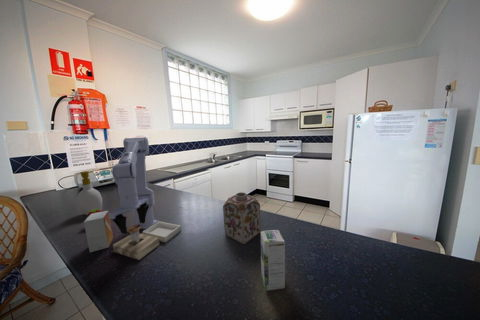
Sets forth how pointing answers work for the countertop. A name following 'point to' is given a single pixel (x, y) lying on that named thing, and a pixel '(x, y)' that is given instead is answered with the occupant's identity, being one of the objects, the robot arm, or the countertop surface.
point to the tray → (163, 231)
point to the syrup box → (272, 259)
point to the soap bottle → (88, 195)
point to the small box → (98, 231)
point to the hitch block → (136, 246)
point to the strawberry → (94, 211)
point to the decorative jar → (242, 217)
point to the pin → (134, 233)
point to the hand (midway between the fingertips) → (133, 227)
